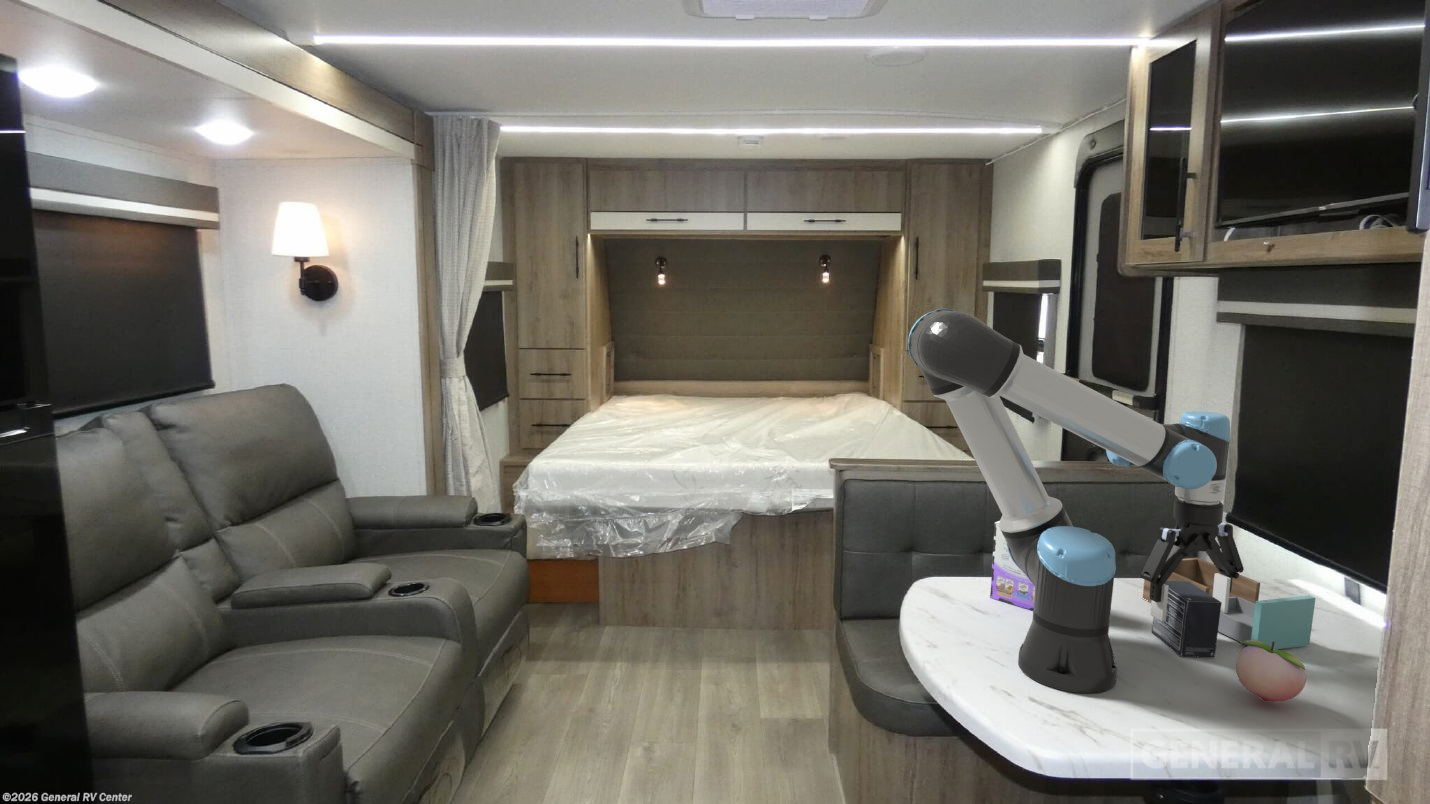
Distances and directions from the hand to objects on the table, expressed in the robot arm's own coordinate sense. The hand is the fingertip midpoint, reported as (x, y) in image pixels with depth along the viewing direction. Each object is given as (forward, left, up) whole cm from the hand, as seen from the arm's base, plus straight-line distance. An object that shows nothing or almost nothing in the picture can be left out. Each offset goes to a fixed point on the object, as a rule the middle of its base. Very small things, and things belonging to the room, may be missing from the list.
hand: (1189, 614), depth 147 cm
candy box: (-16, +23, -6) cm, 29 cm away
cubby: (+16, +12, -6) cm, 21 cm away
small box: (0, 0, -6) cm, 6 cm away
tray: (+16, +2, -6) cm, 17 cm away
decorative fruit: (-4, -20, -6) cm, 21 cm away
